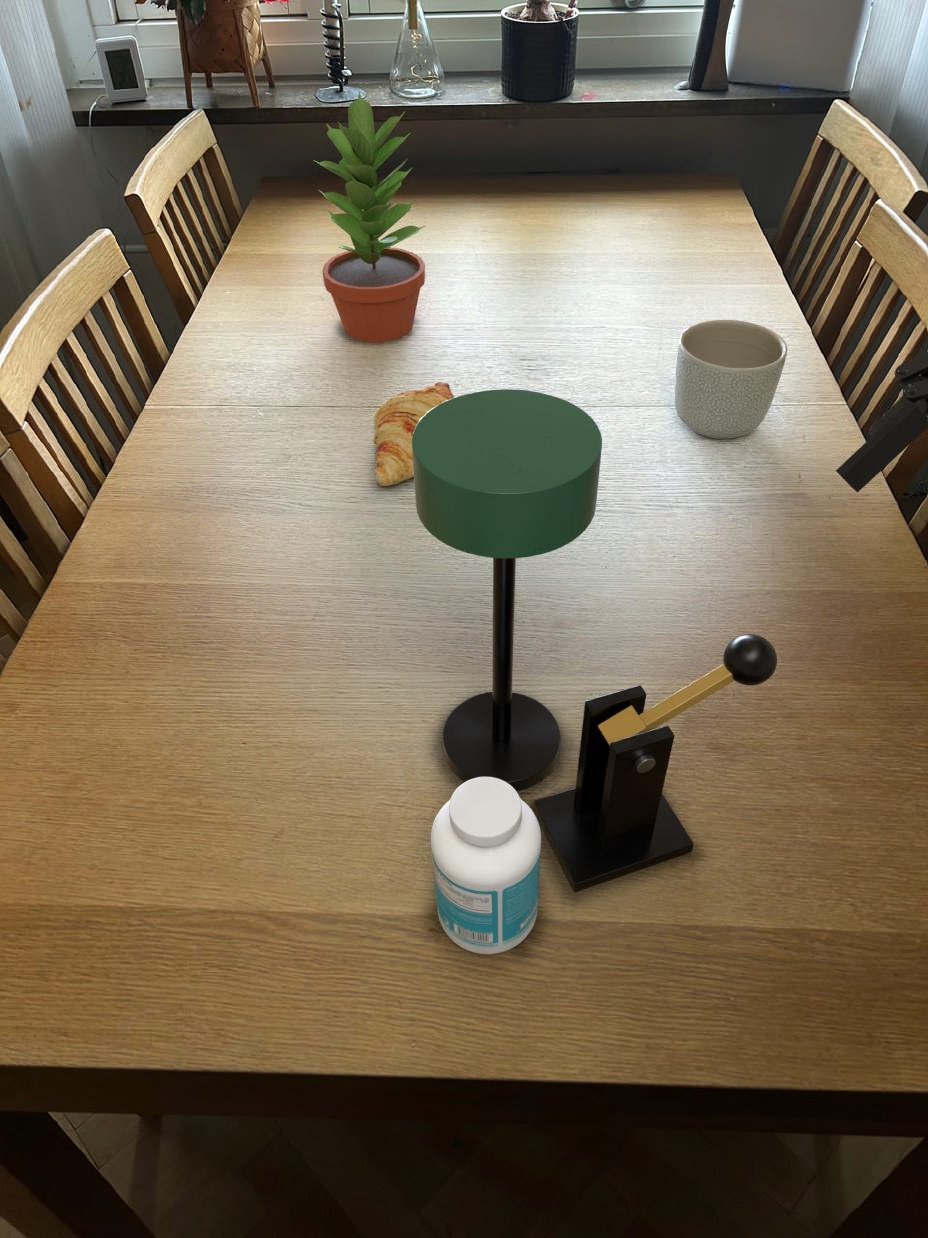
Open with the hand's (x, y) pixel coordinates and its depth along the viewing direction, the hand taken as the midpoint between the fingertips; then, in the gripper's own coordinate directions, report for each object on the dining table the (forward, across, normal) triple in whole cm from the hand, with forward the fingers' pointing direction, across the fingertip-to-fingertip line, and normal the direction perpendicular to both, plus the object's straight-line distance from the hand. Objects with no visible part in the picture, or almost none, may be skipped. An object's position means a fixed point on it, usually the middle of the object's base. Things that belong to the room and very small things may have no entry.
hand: (909, 538), depth 62 cm
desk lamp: (+34, +11, 0) cm, 36 cm away
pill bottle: (+39, -3, +5) cm, 40 cm away
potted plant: (+26, +90, -9) cm, 94 cm away
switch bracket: (+31, 0, -3) cm, 31 cm away
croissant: (+29, +58, -5) cm, 65 cm away
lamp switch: (+18, 0, +2) cm, 18 cm away
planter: (+3, +49, -31) cm, 58 cm away
